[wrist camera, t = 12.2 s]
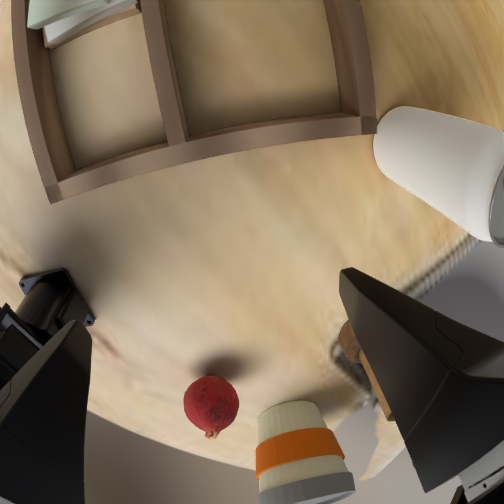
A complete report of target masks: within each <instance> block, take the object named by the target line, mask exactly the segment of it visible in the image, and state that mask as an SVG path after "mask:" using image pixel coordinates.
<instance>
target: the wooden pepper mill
mask: <svg viewBox="0 0 504 504" xmlns="http://www.w3.org/2000/svg"><path fill="white" fill-rule="evenodd" d="M339 342H340V345H341V347H342V349H343V351H344V354H345V356H346V358H347V359H348V360H349V361H351V362H354V363H361V364H363V366H364V369H365V371H366V373H367V375H368V377H369V379H370V382H371V384H372V386H373V388H374V391H375V393H376V395H377V398H378V400H379V402H380V405H381V407H382V409H383V412H384V414H385V417H386V419H387V421H395V419H394V417H393V415H392V412H391V410H390V408H389V406H388V404H387V401H386V399H385V397H384V395H383V393H382V391H381V388H380V386H379V384H378V382H377V380H376V378H375V376H374V374H373V372H372V369H371V367H370V365H369V363H368V361H367V359H366V357H365V355H364V353H363V351H362V349H361V347H360V345H359V343H358V341H357V339H356V337H355V335H354V332H353V329H352V327H351V324H350V321H347V322H346V324H345V325H344V326H343V327H342V329H341V331H340V334H339ZM412 463H413V462H412ZM413 466H414V464H413ZM414 468H415V467H414Z"/></svg>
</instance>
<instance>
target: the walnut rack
mask: <svg viewBox="0 0 504 504" xmlns="http://www.w3.org/2000/svg"><path fill="white" fill-rule="evenodd" d="M29 3H30V0H11V16H12V38H13V50H14V60H15V68H16V75H17V82H18V88H19V94H20V99H21V104H22V109H23V114H24V118H25V123H26V127H27V131H28V135H29V139H30V143H31V146H32V150H33V153H34V157H35V160H36V163H37V167H38V170H39V173H40V176H41V179H42V182H43V185H44V188H45V191H46V193H47V196H48V199H49V202H50V204H53V203H55V202H58V201H61V200H63V199H66V198H69V197H72V196H74V195H77V194H80V193H83V192H86V191H89V190H92V189H95V188H98V187H101V186H104V185H107V184H111V183H114V182H117V181H120V180H124V179H127V178H130V177H134V176H137V175H141V174H144V173H148V172H152V171H156V170H159V169H163V168H167V167H171V166H175V165H179V164H183V163H187V162H192V161H196V160H200V159H205V158H209V157H214V156H219V155H224V154H229V153H234V152H239V151H244V150H250V149H255V148H261V147H267V146H273V145H280V144H286V143H293V142H300V141H308V140H316V139H324V138H333V137H343V136H354V135H366V134H377V119H376V106H375V95H374V85H373V76H372V68H371V60H370V54H369V47H368V41H367V35H366V29H365V24H364V19H363V14H362V9H361V5H360V0H324V5H325V10H326V15H327V20H328V25H329V30H330V35H331V41H332V47H333V53H334V60H335V66H336V73H337V81H338V89H339V97H340V106H341V113H329V114H318V115H308V116H299V117H290V118H283V119H275V120H268V121H262V122H256V123H250V124H244V125H238V126H233V127H227V128H222V129H217V130H213V131H208V132H203V133H199V134H194V135H189V131H188V126H187V122H186V117H185V112H184V107H183V103H182V98H181V93H180V88H179V83H178V78H177V73H176V68H175V63H174V58H173V53H172V47H171V42H170V37H169V31H168V25H167V20H166V14H165V8H164V2H163V0H140V4H141V11H142V17H143V23H144V29H145V35H146V40H147V46H148V51H149V57H150V62H151V67H152V72H153V77H154V82H155V87H156V92H157V96H158V101H159V106H160V110H161V115H162V119H163V123H164V128H165V132H166V136H167V141H166V142H162V143H159V144H155V145H151V146H148V147H144V148H141V149H137V150H134V151H131V152H128V153H124V154H121V155H118V156H115V157H112V158H109V159H106V160H103V161H100V162H97V163H94V164H92V165H89V166H86V167H83V168H81V169H78V170H75V167H74V164H73V160H72V157H71V154H70V150H69V147H68V143H67V139H66V136H65V132H64V128H63V124H62V120H61V116H60V112H59V107H58V103H57V98H56V93H55V88H54V83H53V77H52V71H51V65H50V58H49V51H48V48H46V47H45V45H44V36H43V27H42V28H40V29H38V30H37V29H32V28H28V27H27V23H28V12H29Z"/></svg>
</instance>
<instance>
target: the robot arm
mask: <svg viewBox="0 0 504 504" xmlns="http://www.w3.org/2000/svg"><path fill="white" fill-rule="evenodd" d="M62 273H63V274H64V275H63V274H62ZM19 285H20V287H21V289H22V291H23V292H24V294H25V298H24V299H23V301H22V302H21V304H20V306H19V307H18V309H17V310H16V312H14V311H13V310H12V309H11V308H10V306H9V305H8V304H7V303H5V304H4V306H3V307H2V308H1V307H0V504H85V497H84V444H85V426H86V414H87V413H86V412H87V403H88V394H89V385H90V374H91V353H92V337H91V335H90V333H89V332H88V330H87V329H86V326H92V325H93V324H94V322H95V320H94V318H93V316H92V314H91V313H90V311H89V309H88V307H87V306H86V304H85V302H84V300H83V299H82V297H81V295H80V293H79V291H78V290H77V288H76V286H75V284H74V282H73V280H72V279H71V277H70V275H69V273H68V271H67V270H66V269H64V268H61V269H57V270H53V271H49V272H45V273H41V274H37V275H33V276H30V277H26V278H22V279H21V280H20V281H19ZM339 293H340V297H341V299H342V302H343V305H344V307H345V310H346V313H347V316H348V318H349V321H350V324H351V327H352V329H353V332H354V335H355V337H356V339H357V341H358V343H359V345H360V347H361V349H362V351H363V353H364V355H365V357H366V359H367V361H368V363H369V365H370V367H371V369H372V372H373V374H374V376H375V378H376V380H377V382H378V384H379V386H380V388H381V391H382V393H383V395H384V397H385V399H386V401H387V404H388V406H389V408H390V410H391V412H392V415H393V417H394V419H395V421H396V424H397V426H398V428H399V431H400V433H401V435H402V438H403V440H404V443H405V445H406V447H407V450H408V452H409V455H410V457H411V459H412V462H413V464H414V467H415V469H416V471H417V474H418V477H419V479H420V482H421V484H422V487H423V490H424V492H425V493H427V492H429V491H431V490H433V489H435V488H437V487H439V486H440V485H442V484H444V483H445V482H447V481H449V480H451V479H453V478H454V477H456V476H457V475H459V478H460V480H461V483H462V485H461V486H459V487H457V490H456V492H455V494H454V497H453V499H452V501H451V504H504V342H502V341H499V340H497V339H495V338H493V337H490V336H488V335H486V334H483V333H481V332H479V331H476V330H474V329H472V328H470V327H468V326H465V325H463V324H461V323H459V322H457V321H455V320H453V319H451V318H449V317H447V316H445V315H443V314H441V313H440V312H438V311H434V309H432V308H430V307H428V306H426V305H424V304H423V303H421V302H419V301H417V300H415V299H413V298H411V297H409V296H408V295H406V294H404V293H402V292H400V291H398V290H396V289H394V288H392V287H390V286H388V285H386V284H385V283H383V282H381V281H379V280H377V279H375V278H373V277H371V276H369V275H367V274H365V273H363V272H361V271H359V270H357V269H355V268H353V267H350V268H346V269H342V270H341V271H340V276H339ZM89 320H90V321H89Z"/></svg>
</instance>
